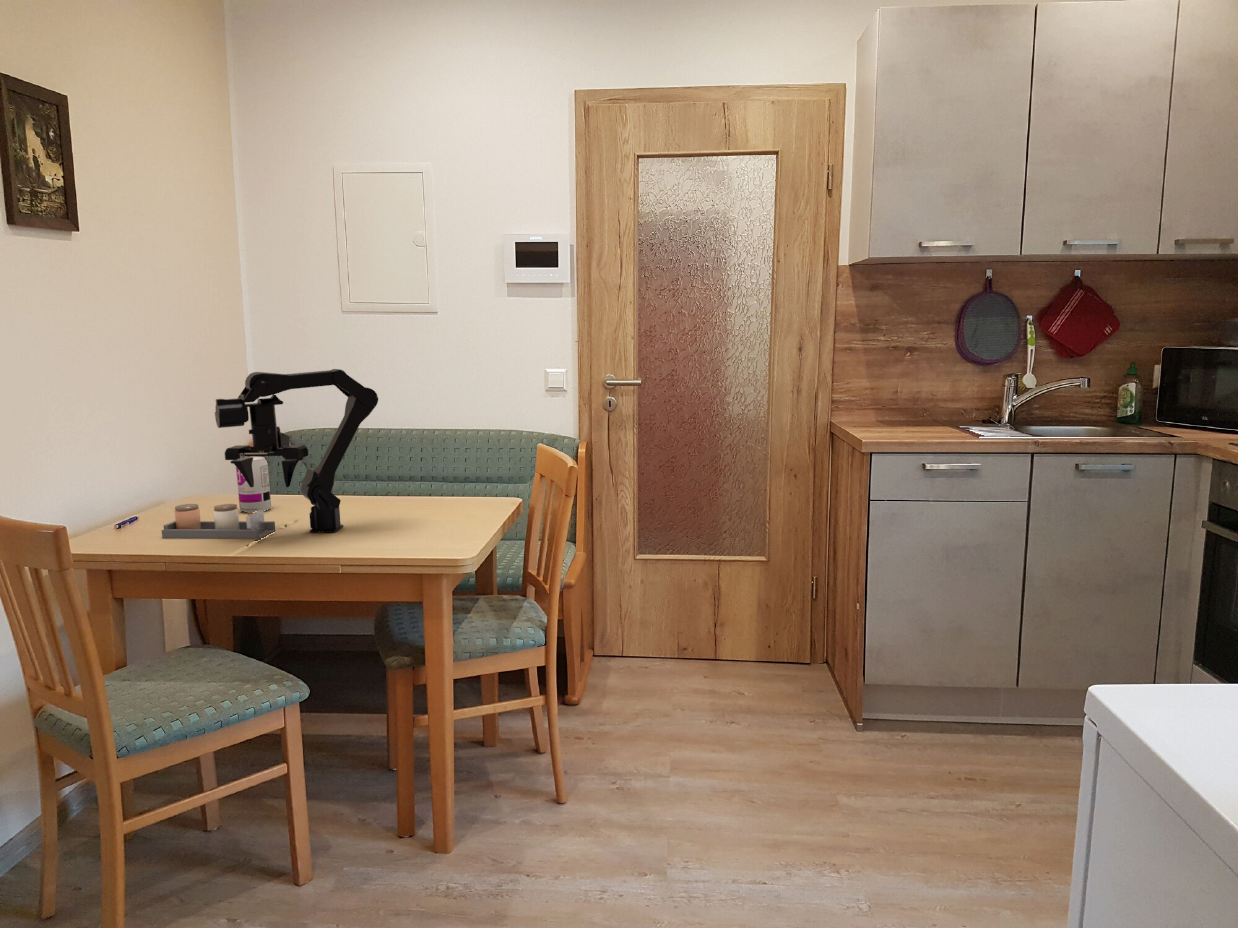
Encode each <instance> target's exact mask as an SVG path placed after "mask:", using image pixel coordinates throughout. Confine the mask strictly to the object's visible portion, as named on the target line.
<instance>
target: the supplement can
mask: <svg viewBox="0 0 1238 928" xmlns="http://www.w3.org/2000/svg"><path fill="white" fill-rule="evenodd" d="M252 457H253V461H252V471H253V478H254V487H250V486H249V484H248V483H247V481H246V480H245V478H244V477H243V475H242V473H241V472H240V471H239V470H238V468H237V467H236V466H235V469H236V470H235V471H236V472H235V473H236V481H237V492H238V504H239V510H240V511H241V512H242V511H244V512H255V511H259V510H263V511H264V510H267V509H269V510H270V508H272V500H271V498H272V497H271V488H270V487H271V486H270V476H269V466H268V462H267V459H266V458H265V457H266V456H252ZM267 511H268V510H267ZM244 512H243V513H244ZM264 512H265V511H264Z"/></svg>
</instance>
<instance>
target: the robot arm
mask: <svg viewBox="0 0 1238 928" xmlns="http://www.w3.org/2000/svg"><path fill="white" fill-rule="evenodd" d="M244 385H245V386H244V388H243V389H242V391H241V392H240V394H239V395H238V396H237V398H215V411H214V417H215V422H216V427H217V428H218V429H222V428H234V427H244V426H245V423H247V422H249V418H250V427H251V429H248V435H251V438H252V439H251V440H252V446H251V445H250V444H249V445H248V444H247V445H245V444H244V445H240V444H239V445H234V446H230V447H227V448H226V449H225V451H224V454H223V455H224V460H225V461H230V464H233V465H235V468H236V467H237V468H238V470H239V471H240V472H241V473H242V475H243V477H244V478H245V480H246V481H247V483H248V484H249V486H250V487H254V478H253V471H252V461H253V457H282V458H283V460H281V466H282V474H283V479H284V484H285V487H286V488H289V487H290V486H291V483H292V479H293V476H294V471H295V470H296V466H297V464H298V463H299V462H300V461H302V460H304V458H305V457H308V456H309V449H308V447H307V446H306V444H291V445H290V439H291V438H290V437H291V436H290V435H288V434H285V433H282V432H281V428H280V426H278V425H277V416H276V415H277V414H276V406H278V405H284V401H283V400H281V399H280V398H279V397H278V396H277V395H276V394H280V393H282V392H285V391H289V390H295V389H306V388H307V389H309V388H316V387H326V386H328V387H329V386H334V387H336V389H338V390H339V391H340V392H341V393H342V394H343V395H344V396H346V397H347V400H346V402H345V406H344V407H345V408H344V413H343V414H344V415H343V418H342V419H341V421H340V423H339V426H338V427H337V429H336V431H335V433H334V435H333V436H332V439H331V440H330V443H329V444H328V447H327V448H326V451H325V452H324V454H323V456H322V458H321V460H320V462H319V463H318V465H317V466H316V467H315V468H314V469H312V468H307V469H306V472H305V475H304V477H303V479H301V481H300V483H301V486H300V491H301V494H302V495H303V497H304V498H305V499H308V500H309V502H310V504H311V505H313V506H311V507H310V512H309V513H308V514H309V525H310V529H309V533H336V532H337V531H339V530H340V529H342V528H343V527H344V524H341V512H340V504H341V499H340V498H338V497H337V495H336V494H334V493H332V492H333V488H334V485H335V484H334V483H335V476H336V473H337V470H338V468H339V466H340V464H341V462H342V460H343V458H344V456H345V455H346V452H347V450H348V448H349V446H350V445H351V443H352V440H353V439H354V437H355V434H356V432H357V431H358V429H359V427H360V425H361V423H362V422H364V421H365V420H366V419H367V418H368V417H369V416H370V414H372V412H373V411H374V409H375V408H376V407H377V405H378V403H379V397H378V394H377V392H376V391H375V390H374V389H372V388H370V387H366V386H363V385H362V384H361V383H359V382H358V381H357V380H356V379H354V378H353V377H351V376H349V374H348V373H347V372H345V370H343V369H338V368H332V369H330V370H329V369H328V370H316V371H308V372H307V371H306V372H296V373H277V372H276V373H275V372H264V371H254V372H250V373H249V374H248V375H247V377H246V379H245V382H244ZM269 396H270V397H269ZM265 397H266V398H265ZM256 401H257V402H256Z"/></svg>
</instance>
